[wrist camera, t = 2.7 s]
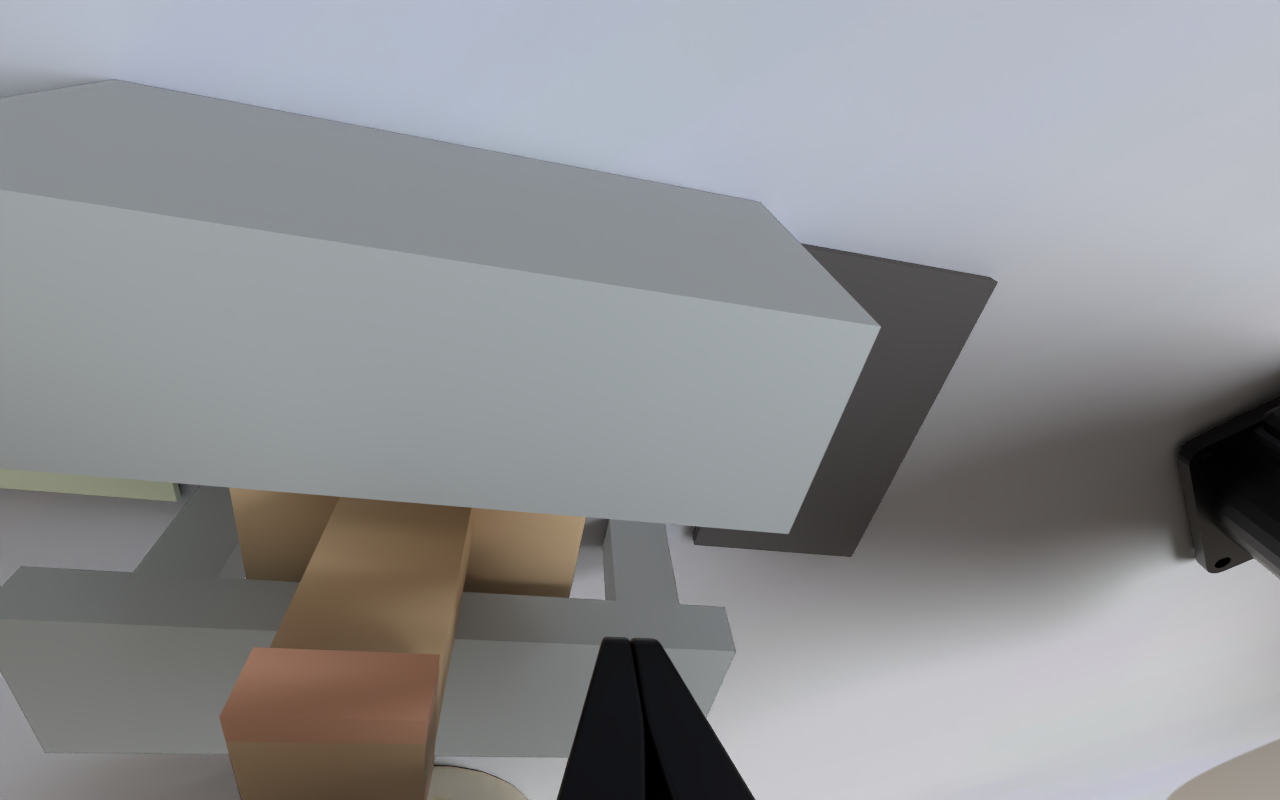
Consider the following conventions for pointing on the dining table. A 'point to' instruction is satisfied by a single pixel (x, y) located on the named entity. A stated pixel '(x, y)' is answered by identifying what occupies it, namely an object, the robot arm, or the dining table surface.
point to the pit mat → (876, 396)
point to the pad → (89, 485)
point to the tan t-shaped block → (369, 634)
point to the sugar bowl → (469, 785)
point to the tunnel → (383, 391)
